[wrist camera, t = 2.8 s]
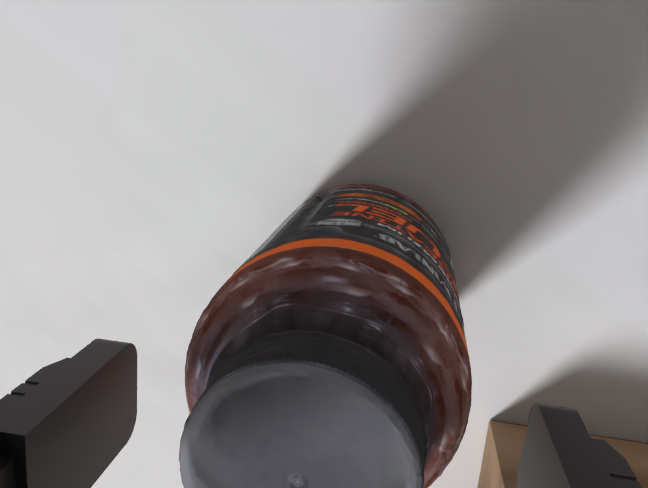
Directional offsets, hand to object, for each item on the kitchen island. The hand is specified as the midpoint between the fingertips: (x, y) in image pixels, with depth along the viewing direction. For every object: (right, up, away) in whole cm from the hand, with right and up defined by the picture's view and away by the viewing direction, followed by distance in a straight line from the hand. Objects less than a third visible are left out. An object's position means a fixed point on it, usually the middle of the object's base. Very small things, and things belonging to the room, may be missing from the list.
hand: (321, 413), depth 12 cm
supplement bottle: (+1, +3, +8) cm, 9 cm away
